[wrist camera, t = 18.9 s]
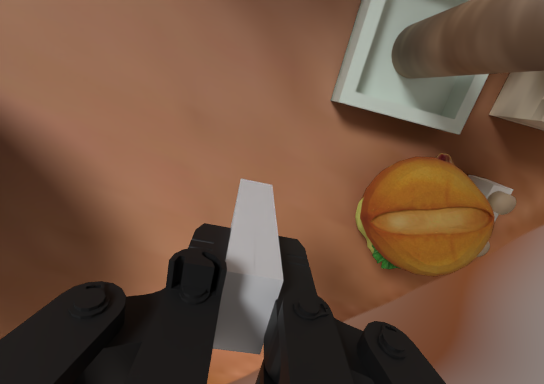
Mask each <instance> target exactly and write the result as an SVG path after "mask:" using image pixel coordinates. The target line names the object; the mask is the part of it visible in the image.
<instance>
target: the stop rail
mask: <svg viewBox="0 0 544 384" xmlns="http://www.w3.org/2000/svg"><path fill="white" fill-rule="evenodd" d="M468 177H469V178H470V179H471V180H472V181H473V182H474V184H475V185H476V186H477V187H478V189H479V190H480V191H481V192H482V193H483V194H484V195H485V197H486V198H487V200H488V202H489V204H490V205H491V207H492V210H493V212H494V216H495V219H494V222H495V220H496V218H497V217H498V215H499V214H501V215H504V214H507V213H509V212H511V211H512V210H513V209H514V207H515V205H516V199H515V197H514V196H511V193H512V191H513V189H511V188H508V187H506V186H503V185H501V184H498V183H496V182H493V181H491V180H488V179H485V178H481V177H477V176H473V175H468ZM489 248H490V244H489V242H487V244H486V245H485V247H484V249H483V250H482V251H481V252H480V253H479V254H478V256H477V257H480V256H483V255H484V254H486V253H487V252H488V250H489Z"/></svg>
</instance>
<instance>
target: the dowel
mask: <svg viewBox="0 0 544 384" xmlns="http://www.w3.org/2000/svg"><path fill="white" fill-rule="evenodd" d="M391 57H392V63H393V66H394V68H395V70H396V71H397V73H398V74H400V75H401V76H403V77H405V78H409V79H415V78H431V77H447V76H464V75H480V74H497V73H513V72H529V71H544V0H470V1H467V2H465V3H462V4H460V5H458V6H455V7H453V8H450V9H448V10H445V11H443V12H441V13H438V14H436V15H433V16H431V17H429V18H426V19H424V20H421V21H419V22H416V23H414V24H412V25H410V26H408V27H406V28H405V29H404V30H403V31H402V32H401V33H400V34H399V35H398V37H397V38H396V40H395V42H394V44H393V48H392V54H391Z"/></svg>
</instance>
